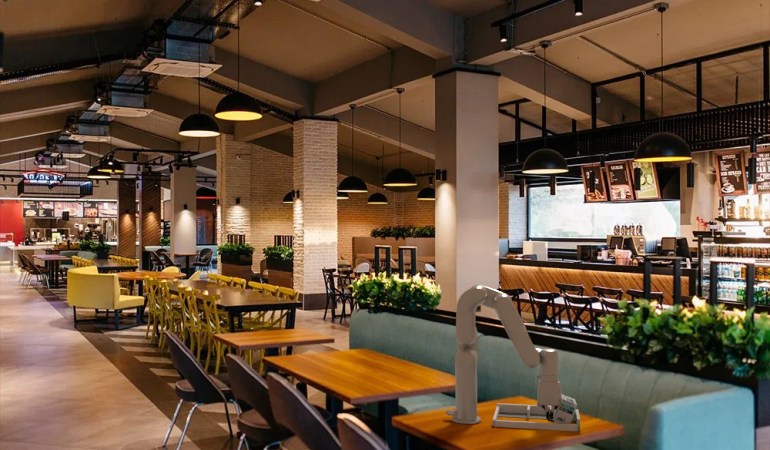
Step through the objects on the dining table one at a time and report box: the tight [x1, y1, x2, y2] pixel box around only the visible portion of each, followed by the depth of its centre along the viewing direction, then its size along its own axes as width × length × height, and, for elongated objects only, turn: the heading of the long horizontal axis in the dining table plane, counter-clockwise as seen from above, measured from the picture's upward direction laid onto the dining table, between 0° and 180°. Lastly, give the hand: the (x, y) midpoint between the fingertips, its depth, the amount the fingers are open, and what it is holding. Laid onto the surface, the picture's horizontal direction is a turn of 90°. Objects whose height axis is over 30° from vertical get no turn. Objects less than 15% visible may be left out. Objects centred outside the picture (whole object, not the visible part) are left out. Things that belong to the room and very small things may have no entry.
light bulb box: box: [553, 393, 578, 424], centre depth 293 cm, size 11×7×11 cm, turn 169°
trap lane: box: [492, 402, 581, 432], centre depth 300 cm, size 36×25×5 cm
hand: (549, 420), depth 295 cm, fingers closed
